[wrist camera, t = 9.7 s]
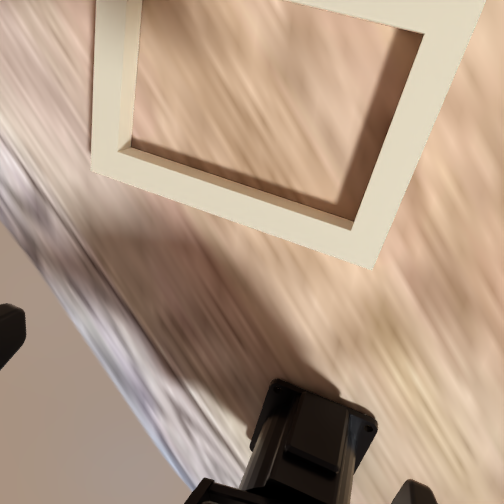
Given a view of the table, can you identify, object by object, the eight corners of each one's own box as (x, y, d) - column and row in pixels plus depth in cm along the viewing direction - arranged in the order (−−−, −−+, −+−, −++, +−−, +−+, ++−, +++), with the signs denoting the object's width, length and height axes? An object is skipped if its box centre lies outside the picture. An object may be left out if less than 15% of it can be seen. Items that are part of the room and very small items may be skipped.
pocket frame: (373, 259, 20) (372, 270, 19) (104, 165, 23) (90, 171, 22) (483, -2, 15) (488, -6, 14) (116, -83, 18) (99, -92, 17)
